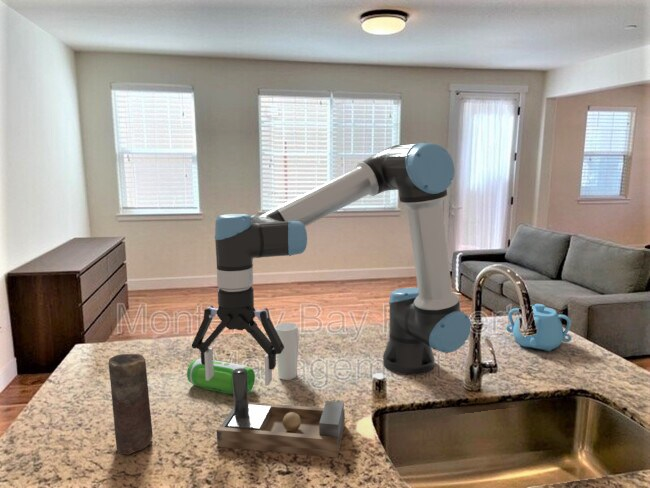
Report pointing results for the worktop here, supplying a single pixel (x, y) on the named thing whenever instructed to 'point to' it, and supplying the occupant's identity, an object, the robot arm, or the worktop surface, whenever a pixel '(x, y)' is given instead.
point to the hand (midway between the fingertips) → (238, 380)
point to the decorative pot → (542, 329)
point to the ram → (246, 405)
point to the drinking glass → (288, 350)
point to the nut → (291, 421)
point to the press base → (309, 439)
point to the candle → (130, 402)
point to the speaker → (217, 376)
